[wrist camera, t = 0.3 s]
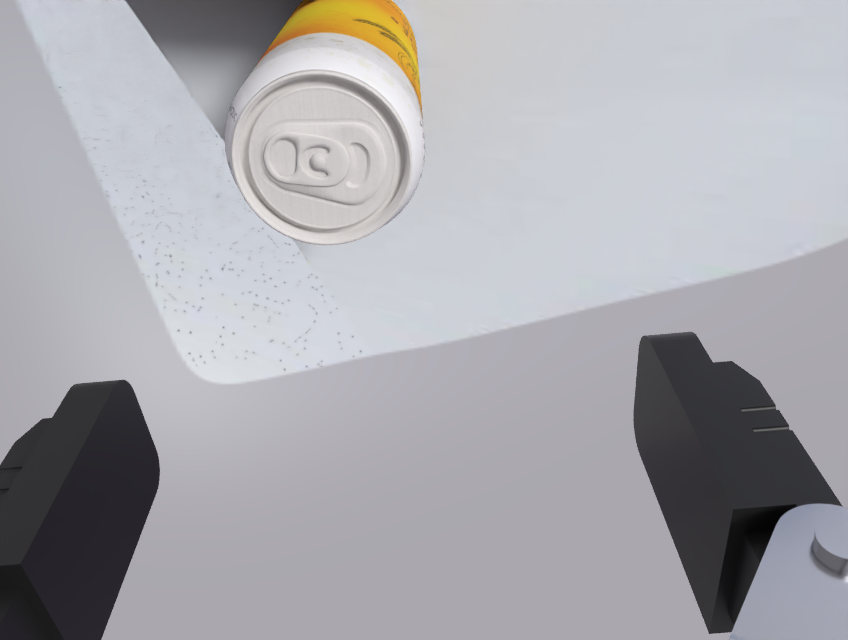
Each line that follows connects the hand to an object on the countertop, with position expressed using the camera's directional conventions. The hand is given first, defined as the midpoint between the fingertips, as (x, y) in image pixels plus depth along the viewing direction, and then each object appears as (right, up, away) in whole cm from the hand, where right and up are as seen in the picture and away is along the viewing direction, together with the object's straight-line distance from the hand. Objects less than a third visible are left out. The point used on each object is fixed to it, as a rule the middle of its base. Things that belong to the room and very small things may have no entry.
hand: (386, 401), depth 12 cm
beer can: (-3, +14, +23) cm, 27 cm away
